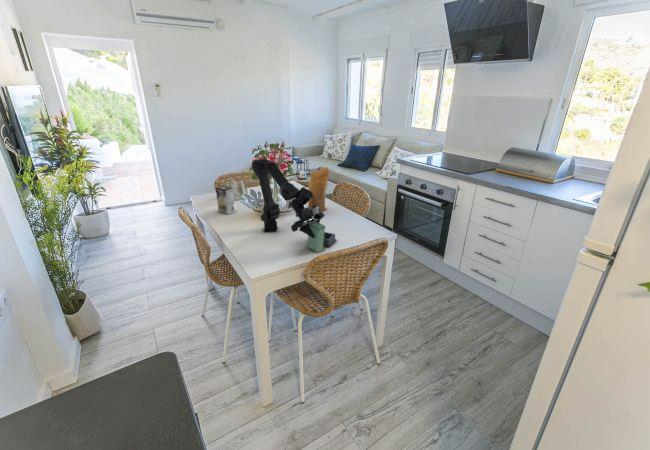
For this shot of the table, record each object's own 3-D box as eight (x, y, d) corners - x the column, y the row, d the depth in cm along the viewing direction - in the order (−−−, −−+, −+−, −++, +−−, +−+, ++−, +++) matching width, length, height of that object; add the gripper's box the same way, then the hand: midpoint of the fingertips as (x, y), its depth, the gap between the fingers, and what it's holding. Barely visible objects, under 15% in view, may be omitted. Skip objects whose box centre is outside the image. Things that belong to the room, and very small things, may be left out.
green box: (306, 246, 156) (308, 222, 151) (312, 243, 159) (314, 220, 154) (317, 252, 152) (319, 228, 147) (323, 249, 155) (325, 225, 149)
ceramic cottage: (251, 197, 227) (248, 177, 221) (228, 202, 219) (224, 181, 214) (244, 193, 239) (241, 173, 234) (223, 197, 232) (219, 177, 226)
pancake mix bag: (331, 209, 208) (332, 167, 196) (311, 216, 194) (311, 172, 183) (323, 206, 212) (324, 165, 200) (303, 214, 198) (303, 170, 187)
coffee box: (218, 211, 201) (214, 187, 195) (225, 208, 206) (223, 185, 200) (228, 214, 197) (225, 189, 190) (235, 211, 202) (233, 187, 195)
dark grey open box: (309, 242, 162) (308, 235, 160) (316, 236, 168) (316, 229, 167) (329, 247, 157) (329, 240, 155) (336, 241, 164) (336, 234, 162)
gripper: (294, 205, 142) (312, 234, 139) (321, 196, 155) (338, 222, 152) (283, 218, 150) (300, 245, 147) (310, 208, 163) (326, 233, 160)
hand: (317, 236), depth 152 cm, fingers closed on green box, 5 cm apart
